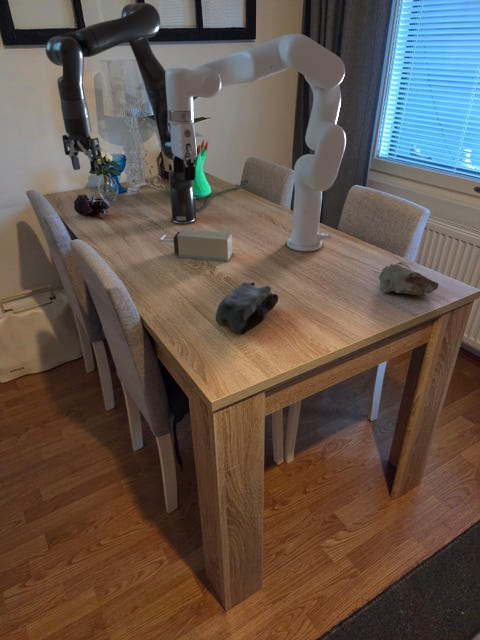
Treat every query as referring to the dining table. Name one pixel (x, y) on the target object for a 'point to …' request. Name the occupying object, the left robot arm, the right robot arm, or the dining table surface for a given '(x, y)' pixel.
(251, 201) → the dining table surface
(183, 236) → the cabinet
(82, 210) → the toy
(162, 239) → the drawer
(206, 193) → the toy
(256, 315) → the rock
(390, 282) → the artifact
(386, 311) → the dining table surface
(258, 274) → the dining table surface
